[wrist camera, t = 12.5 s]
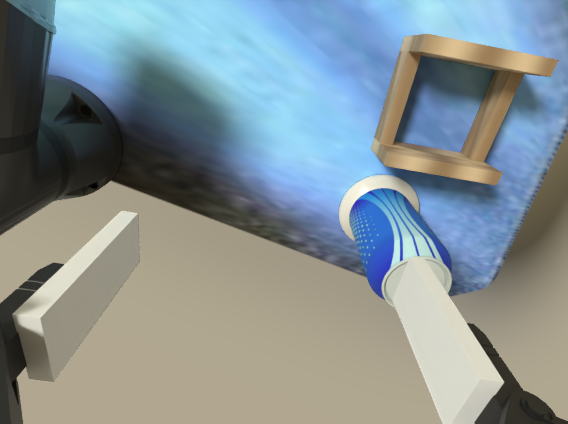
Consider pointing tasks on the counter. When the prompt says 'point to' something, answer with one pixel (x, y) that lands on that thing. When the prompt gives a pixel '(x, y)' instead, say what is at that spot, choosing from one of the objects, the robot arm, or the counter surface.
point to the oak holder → (486, 121)
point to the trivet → (369, 185)
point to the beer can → (394, 241)
